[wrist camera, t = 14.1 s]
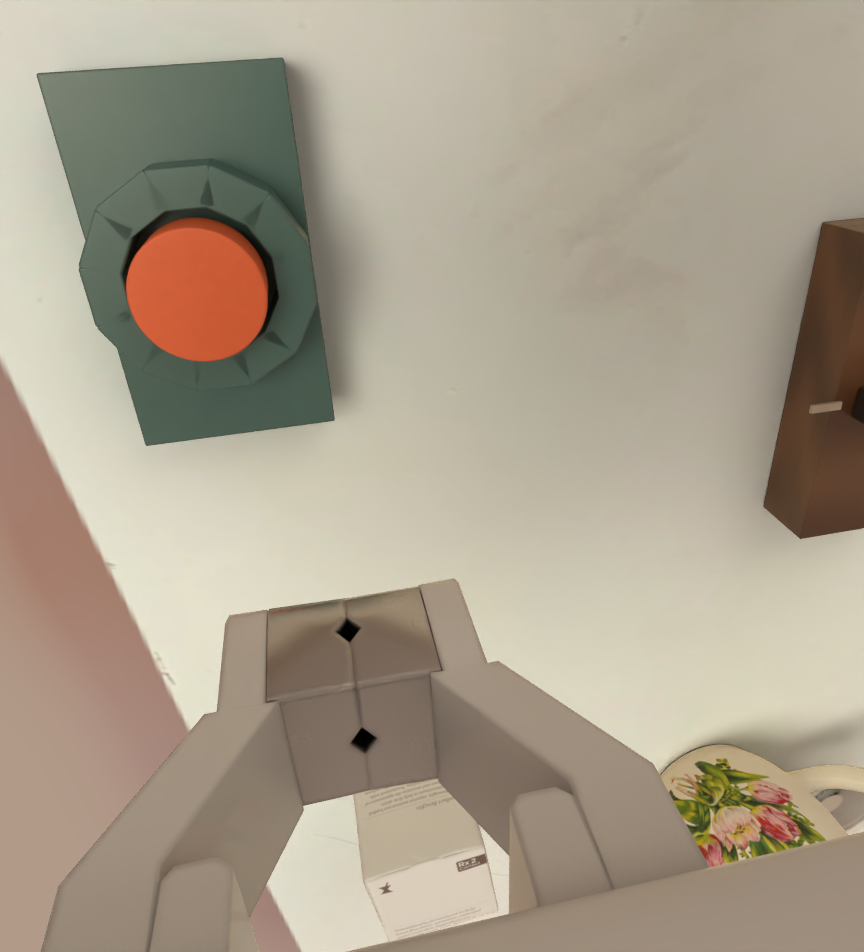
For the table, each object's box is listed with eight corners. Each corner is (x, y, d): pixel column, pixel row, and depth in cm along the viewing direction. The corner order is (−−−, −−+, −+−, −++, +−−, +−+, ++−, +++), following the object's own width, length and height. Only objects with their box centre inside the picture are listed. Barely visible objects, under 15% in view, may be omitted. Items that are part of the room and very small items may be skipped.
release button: (120, 223, 21) (107, 234, 20) (256, 210, 22) (254, 220, 20) (154, 351, 23) (145, 369, 22) (277, 336, 24) (278, 354, 22)
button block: (56, 73, 22) (15, 73, 19) (282, 59, 23) (284, 55, 20) (154, 421, 28) (137, 469, 25) (331, 398, 29) (338, 441, 26)
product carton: (371, 819, 42) (388, 949, 36) (347, 755, 39) (360, 885, 33) (468, 791, 43) (501, 914, 37) (452, 725, 40) (485, 847, 33)
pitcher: (850, 757, 49) (1031, 971, 37) (616, 868, 50) (721, 1110, 38) (827, 661, 43) (1032, 878, 32) (565, 789, 45) (668, 1044, 33)
